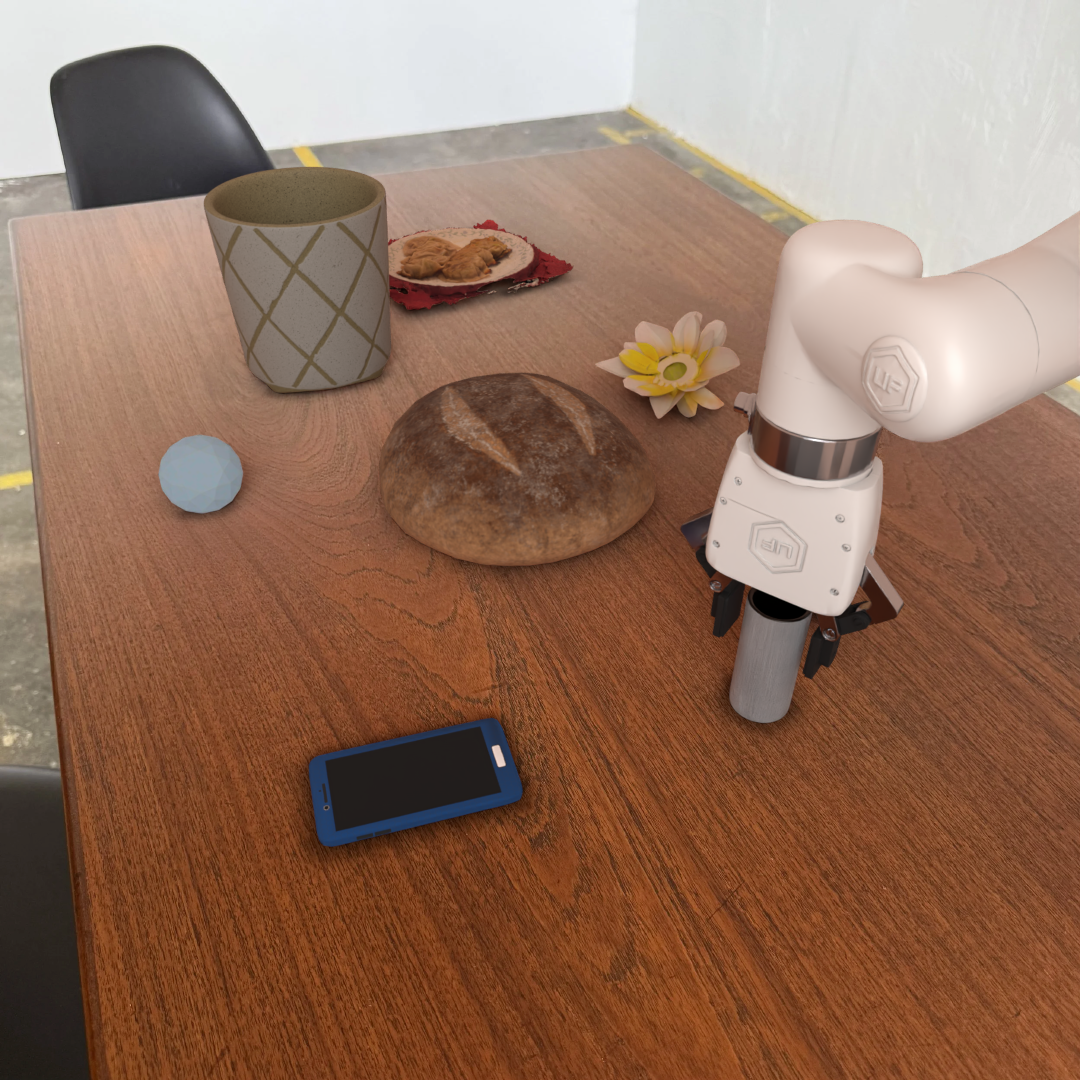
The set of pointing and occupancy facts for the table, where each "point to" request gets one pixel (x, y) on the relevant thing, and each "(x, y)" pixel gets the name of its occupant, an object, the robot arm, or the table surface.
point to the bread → (513, 471)
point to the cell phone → (412, 781)
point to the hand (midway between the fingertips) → (769, 644)
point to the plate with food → (464, 264)
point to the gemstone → (200, 473)
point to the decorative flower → (675, 364)
